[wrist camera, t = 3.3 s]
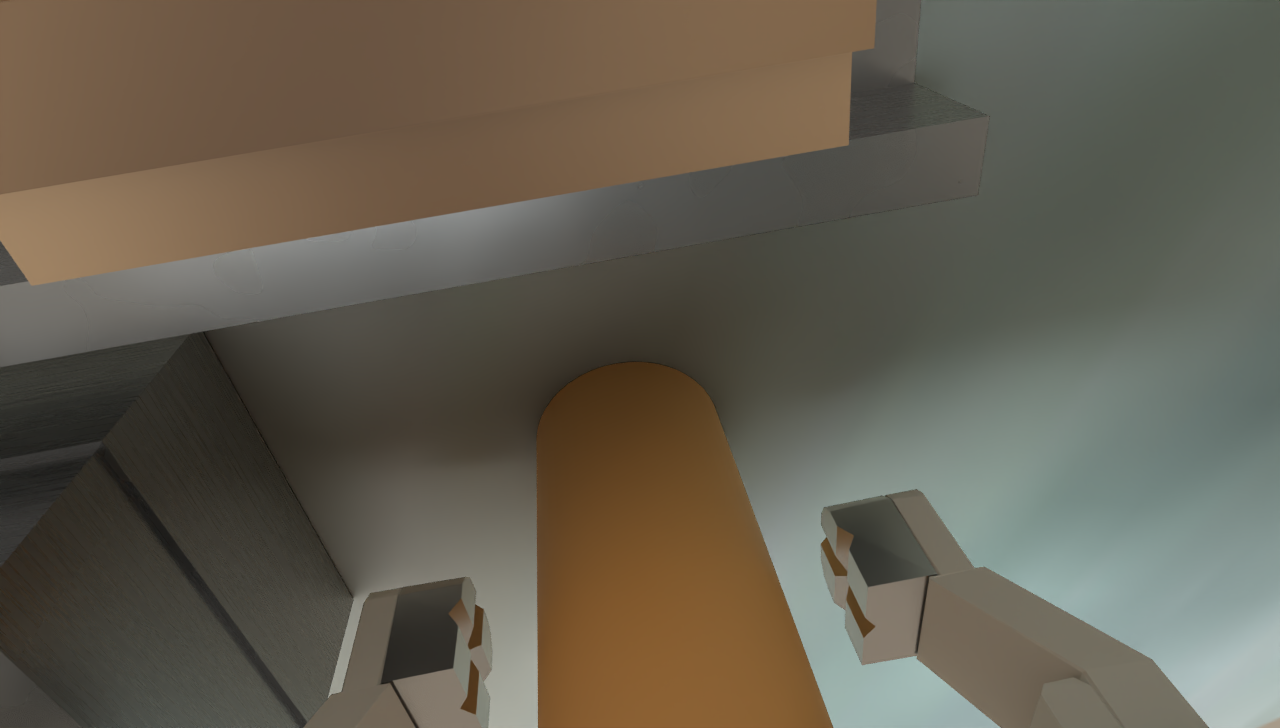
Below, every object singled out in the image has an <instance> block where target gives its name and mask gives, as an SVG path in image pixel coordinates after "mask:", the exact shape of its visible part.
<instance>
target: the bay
mask: <svg viewBox="0 0 1280 728" xmlns="http://www.w3.org/2000/svg"><path fill="white" fill-rule="evenodd" d="M920 8H921V0H877V5H876V25H875V44H874V48H873V49H867V50H861V51H855V52H852V68H851V95H850V123H849V145H847V146H841V147H835V148H829V149H823V150H818V151H812V152H806V153H800V154H794V155H789V156H783V157H777V158H771V159H765V160H760V161H754V162H748V163H742V164H736V165H731V166H725V167H719V168H713V169H707V170H701V171H696V172H690V173H684V174H678V175H672V176H667V177H661V178H655V179H649V180H643V181H638V182H632V183H626V184H620V185H614V186H609V187H603V188H597V189H591V190H585V191H580V192H574V193H568V194H562V195H556V196H551V197H545V198H539V199H533V200H527V201H521V202H516V203H510V204H504V205H498V206H492V207H487V208H481V209H475V210H469V211H463V212H458V213H452V214H446V215H440V216H434V217H429V218H423V219H417V220H411V221H405V222H400V223H394V224H388V225H382V226H376V227H370V228H365V229H359V230H353V231H347V232H341V233H336V234H330V235H324V236H318V237H312V238H307V239H301V240H295V241H289V242H283V243H278V244H272V245H266V246H260V247H254V248H249V249H243V250H237V251H231V252H225V253H219V254H214V255H208V256H202V257H196V258H190V259H185V260H179V261H173V262H167V263H161V264H156V265H150V266H144V267H138V268H132V269H127V270H121V271H115V272H109V273H103V274H98V275H92V276H86V277H80V278H74V279H69V280H63V281H57V282H51V283H45V284H39V285H34V286H31V284H30V283H29V281H28V280H27V278H26V277H25V275H24V274H23V273H22V271H21V270H20V268H19V267H18V265H17V264H16V262H15V261H14V260H13V258H12V257H11V255H10V254H9V252H8V251H7V249H6V248H5V247H4V245H3V244H2V242H1V241H0V367H4V366H10V365H15V364H21V363H27V362H32V361H38V360H44V359H49V358H55V357H61V356H66V355H72V354H78V353H83V352H89V351H95V350H101V349H106V348H112V347H118V346H123V345H129V344H135V343H140V342H146V341H152V340H157V339H163V338H169V337H174V336H180V335H186V334H191V333H197V332H203V331H208V330H214V329H220V328H226V327H231V326H237V325H243V324H248V323H254V322H260V321H265V320H271V319H277V318H282V317H288V316H294V315H299V314H305V313H311V312H316V311H322V310H328V309H333V308H339V307H345V306H351V305H356V304H362V303H368V302H373V301H379V300H385V299H390V298H396V297H402V296H407V295H413V294H419V293H424V292H430V291H436V290H441V289H447V288H453V287H458V286H464V285H470V284H476V283H481V282H487V281H493V280H498V279H504V278H510V277H515V276H521V275H527V274H532V273H538V272H544V271H549V270H555V269H561V268H566V267H572V266H578V265H583V264H589V263H595V262H601V261H606V260H612V259H618V258H623V257H629V256H635V255H640V254H646V253H652V252H657V251H663V250H669V249H674V248H680V247H686V246H691V245H697V244H703V243H708V242H714V241H720V240H725V239H731V238H737V237H743V236H748V235H754V234H760V233H765V232H771V231H777V230H782V229H788V228H794V227H799V226H805V225H811V224H816V223H822V222H828V221H833V220H839V219H845V218H850V217H856V216H862V215H868V214H873V213H879V212H885V211H890V210H896V209H902V208H907V207H913V206H919V205H924V204H930V203H936V202H941V201H947V200H953V199H958V198H964V197H970V196H975V195H978V193H979V186H980V179H981V172H982V165H983V158H984V151H985V144H986V137H987V131H988V124H989V117H990V116H989V115H986V114H984V113H982V112H979V111H977V110H975V109H972V108H970V107H968V106H966V105H963V104H961V103H959V102H956V101H954V100H952V99H950V98H947V97H945V96H943V95H940V94H938V93H936V92H933V91H931V90H929V89H927V88H924V87H922V86H920V85H917V84H915V83H914V79H915V67H916V55H917V44H918V32H919V20H920Z"/></svg>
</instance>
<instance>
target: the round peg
mask: <svg viewBox="0 0 1280 728" xmlns="http://www.w3.org/2000/svg"><path fill="white" fill-rule="evenodd" d="M536 441H537V621H538V728H833V725H832V723H831V720H830V717H829V715H828V712H827V709H826V707H825V704H824V701H823V698H822V696H821V693H820V690H819V688H818V685H817V682H816V680H815V677H814V674H813V671H812V669H811V666H810V663H809V661H808V658H807V655H806V652H805V650H804V647H803V644H802V642H801V639H800V636H799V634H798V631H797V628H796V625H795V623H794V620H793V617H792V615H791V612H790V609H789V606H788V604H787V601H786V598H785V596H784V593H783V590H782V588H781V585H780V582H779V579H778V577H777V574H776V571H775V569H774V566H773V563H772V561H771V558H770V555H769V552H768V550H767V547H766V544H765V542H764V539H763V536H762V533H761V531H760V528H759V525H758V523H757V520H756V517H755V515H754V512H753V509H752V506H751V504H750V501H749V498H748V496H747V493H746V490H745V488H744V485H743V482H742V479H741V477H740V474H739V471H738V469H737V466H736V463H735V460H734V458H733V455H732V452H731V450H730V447H729V444H728V442H727V439H726V436H725V433H724V431H723V428H722V425H721V423H720V420H719V417H718V414H717V412H716V409H715V406H714V404H713V402H712V400H711V398H710V397H709V395H708V394H707V393H706V391H705V390H704V389H703V388H702V387H701V386H700V385H699V384H698V383H697V382H696V381H695V380H693V379H692V378H690V377H689V376H687V375H686V374H684V373H682V372H680V371H678V370H676V369H673V368H670V367H667V366H664V365H660V364H655V363H647V362H624V363H616V364H611V365H607V366H603V367H600V368H597V369H595V370H592V371H589V372H587V373H585V374H583V375H581V376H579V377H578V378H576V379H575V380H573V381H572V382H570V383H569V384H567V385H566V386H565V387H564V388H563V389H561V390H560V391H559V392H558V393H557V394H556V395H555V397H554V398H553V399H552V400H551V401H550V403H549V404H548V406H547V407H546V409H545V411H544V413H543V415H542V417H541V419H540V422H539V426H538V430H537V437H536Z"/></svg>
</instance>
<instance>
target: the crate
mask: <svg viewBox="0 0 1280 728" xmlns="http://www.w3.org/2000/svg"><path fill="white" fill-rule="evenodd" d="M876 5H877V0H0V241H1V242H2V244H3V245H4V247H5V248H6V249H7V251H8V252H9V254H10V255H11V257H12V258H13V260H14V261H15V262H16V264H17V265H18V267H19V268H20V270H21V271H22V273H23V274H24V275H25V277H26V278H27V280H28V281H29V283H30V284H31V286H34V285H39V284H45V283H51V282H57V281H63V280H69V279H74V278H80V277H86V276H92V275H98V274H103V273H109V272H115V271H121V270H127V269H132V268H138V267H144V266H150V265H156V264H161V263H167V262H173V261H179V260H185V259H190V258H196V257H202V256H208V255H214V254H219V253H225V252H231V251H237V250H243V249H249V248H254V247H260V246H266V245H272V244H278V243H283V242H289V241H295V240H301V239H307V238H312V237H318V236H324V235H330V234H336V233H341V232H347V231H353V230H359V229H365V228H370V227H376V226H382V225H388V224H394V223H400V222H405V221H411V220H417V219H423V218H429V217H434V216H440V215H446V214H452V213H458V212H463V211H469V210H475V209H481V208H487V207H492V206H498V205H504V204H510V203H516V202H521V201H527V200H533V199H539V198H545V197H551V196H556V195H562V194H568V193H574V192H580V191H585V190H591V189H597V188H603V187H609V186H614V185H620V184H626V183H632V182H638V181H643V180H649V179H655V178H661V177H667V176H672V175H678V174H684V173H690V172H696V171H701V170H707V169H713V168H719V167H725V166H731V165H736V164H742V163H748V162H754V161H760V160H765V159H771V158H777V157H783V156H789V155H794V154H800V153H806V152H812V151H818V150H823V149H829V148H835V147H841V146H847V145H849V123H850V95H851V68H852V52H855V51H861V50H867V49H873V48H874V44H875V25H876Z"/></svg>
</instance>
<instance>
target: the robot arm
mask: <svg viewBox="0 0 1280 728" xmlns="http://www.w3.org/2000/svg"><path fill="white" fill-rule="evenodd" d="M821 526H822V528H823V530H824V532H825V534H826V536H827V537H826V538H825V540H824V541H823V542H822V543H821V562H822V567H823V573H824V577H825V580H826V583H827V586H828V589H829V592H830V594H831V596H832V599H833V601H834V603H835V604H837V605H838V606H840V607H841V608H843V609H844V610H846V613H845V628H846V631H847V633H848V635H849V637H850V640H851V642H852V644H853V646H854V649H855V651H856V653H857V655H858V657H859V660H860V662H861V664H862V665H865V664H871V663H877V662H883V661H888V660H894V659H900V658H906V657H912V656H917V659H918V660H919V661H920V662H922V663H923V664H924V665H925V666H926V667H928V668H929V669H930V670H931V671H933V672H934V673H935V674H936V675H937V676H939V677H940V678H941V679H942V680H944V681H945V682H946V683H947V684H948V685H950V686H951V687H952V688H953V689H954V690H956V691H957V692H958V693H959V694H961V695H962V696H963V697H964V698H965V699H967V700H968V701H969V702H970V703H972V704H973V705H974V706H975V707H976V708H978V709H979V710H980V711H981V712H983V713H984V714H985V715H986V716H987V717H989V718H990V719H991V720H992V721H993V722H995V723H996V724H997V725H998V726H1000V727H1001V728H1209V727H1208V726H1207V725H1206V724H1205V722H1204V721H1203V720H1202V719H1201V718H1200V716H1199V715H1198V714H1197V713H1196V712H1195V710H1194V709H1193V708H1192V707H1191V706H1190V704H1189V703H1188V702H1187V701H1186V700H1185V698H1184V697H1183V696H1182V695H1181V694H1180V692H1179V691H1178V690H1177V689H1176V688H1175V686H1174V685H1173V684H1172V683H1171V682H1170V680H1169V679H1168V678H1167V677H1166V676H1165V674H1164V673H1163V672H1162V671H1161V669H1160V668H1159V667H1158V666H1157V665H1156V663H1155V662H1154V661H1153V660H1152V659H1150V658H1149V657H1147V656H1145V655H1143V654H1141V653H1140V652H1138V651H1136V650H1134V649H1132V648H1131V647H1129V646H1127V645H1125V644H1123V643H1121V642H1120V641H1118V640H1116V639H1114V638H1112V637H1111V636H1109V635H1107V634H1105V633H1103V632H1102V631H1100V630H1098V629H1096V628H1094V627H1093V626H1091V625H1089V624H1087V623H1085V622H1084V621H1082V620H1080V619H1078V618H1076V617H1074V616H1073V615H1071V614H1069V613H1067V612H1065V611H1064V610H1062V609H1060V608H1058V607H1056V606H1055V605H1053V604H1051V603H1049V602H1047V601H1046V600H1044V599H1042V598H1040V597H1038V596H1037V595H1035V594H1033V593H1031V592H1029V591H1027V590H1026V589H1024V588H1022V587H1020V586H1018V585H1017V584H1015V583H1013V582H1011V581H1009V580H1008V579H1006V578H1004V577H1002V576H1000V575H999V574H997V573H995V572H993V571H991V570H990V569H988V568H986V567H979V568H974V566H973V565H972V564H971V562H970V561H969V559H968V558H967V556H966V555H965V553H964V552H963V550H962V549H961V548H960V546H959V545H958V543H957V542H956V540H955V539H954V537H953V536H952V534H951V533H950V532H949V530H948V529H947V527H946V526H945V524H944V523H943V521H942V520H941V519H940V517H939V516H938V514H937V513H936V511H935V510H934V508H933V507H932V505H931V504H930V503H929V501H928V500H927V498H926V497H925V495H924V494H923V493H922V492H921V491H919V490H917V489H915V490H909V491H904V492H899V493H894V494H889V495H886V496H877V497H872V498H867V499H863V500H858V501H853V502H848V503H843V504H838V505H833V506H828V507H824V508H823V511H822V513H821ZM475 601H476V589H475V587H474V585H473V583H472V580H471V578H470V577H461V578H455V579H449V580H443V581H437V582H431V583H425V584H419V585H413V586H407V587H403V588H397V589H391V590H386V591H380V592H374V593H370V594H369V596H368V598H367V599H366V601H365V602H364V604H363V608H362V612H361V616H360V620H359V624H358V628H357V632H356V636H355V640H354V644H353V648H352V652H351V656H350V660H349V664H348V668H347V672H346V676H345V680H344V684H343V688H342V692H340V693H335V694H331V695H330V697H329V698H328V699H327V700H326V701H325V702H324V704H323V705H322V706H321V707H320V708H319V710H318V711H317V712H316V713H315V714H314V715H313V717H312V718H311V719H310V720H309V721H308V722H307V724H306V725H305V726H304V727H303V728H488V725H489V709H490V696H489V693H488V691H487V689H486V686H485V684H484V680H485V679H486V677H487V676H488V675H489V673H490V672H491V670H492V641H491V632H490V627H489V623H488V619H487V617H486V614H485V611H484V609H482V608H480V607H479V606H477V605H475Z"/></svg>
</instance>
